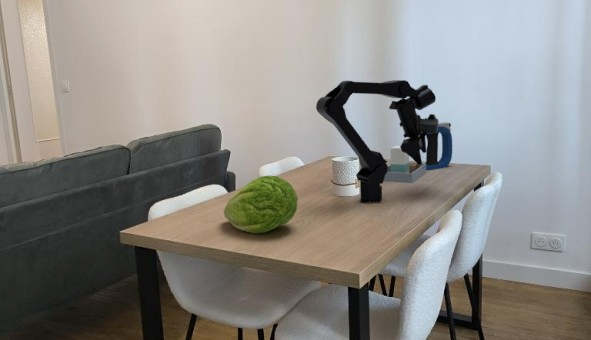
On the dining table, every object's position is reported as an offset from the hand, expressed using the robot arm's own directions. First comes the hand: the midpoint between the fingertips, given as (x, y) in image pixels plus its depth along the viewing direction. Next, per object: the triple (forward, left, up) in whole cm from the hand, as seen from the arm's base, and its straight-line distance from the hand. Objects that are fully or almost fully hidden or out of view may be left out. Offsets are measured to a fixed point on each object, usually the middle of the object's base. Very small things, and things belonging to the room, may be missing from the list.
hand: (422, 158), depth 171 cm
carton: (-7, +20, -11) cm, 24 cm away
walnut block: (-3, +29, -11) cm, 31 cm away
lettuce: (-49, -39, -12) cm, 64 cm away
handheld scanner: (+8, +39, -12) cm, 42 cm away
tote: (-5, +24, -12) cm, 27 cm away
